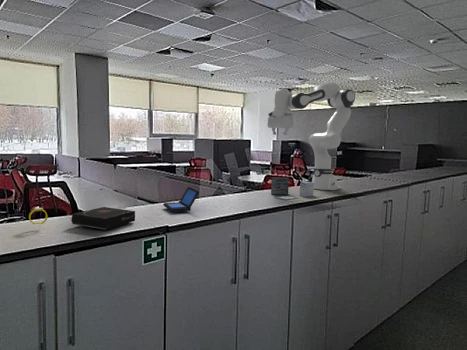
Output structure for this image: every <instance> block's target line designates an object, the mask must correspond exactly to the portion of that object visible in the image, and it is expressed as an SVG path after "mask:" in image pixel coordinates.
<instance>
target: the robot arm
mask: <svg viewBox="0 0 467 350" xmlns="http://www.w3.org/2000/svg"><path fill="white" fill-rule="evenodd" d="M355 99H356V94H355V92H354V91H353V90H352V89H348V88H347V89H342V90H340V88H339V85H338V83H336V82H332V81H331V82H324V83H321V84H319V85H315V87H313V88H312V91H310V92H309V93H308V92H307V93H305V92H299V93H292V92H290V91H289V90H288V88H279V89H276V91H275V94H274V108H273V111H270V112H269V113H268V118H267V128H268V129H271V131H272V135H273V136H277V131H276V129H284V132H283V136H287V135H288V131H289V129H293V127H294V115H293V114H292V113H290V112H289V111H288V110H290V111H291V110H302V109H303V110H304V109H305V108H307V107H308V105H310V104H312V103H314V102H322V101H327V104H328V106H329V107H330V108H332V109H336V110H335V111H334V113H333V114H332V116H330V119H329V120H328V121H327V123H326V128H327V129H326V131H325V132H315V133H313V134H311V135H310V136H309V138H308V143H309V145H310V147H311V148H312V150H313V153H314V168H313V176H312V179H311V182H312V183H314V188H313V190H322V191H326V190H327V191H328V190H329V191H335V190H339V189H342V187H341V186H339V184H338V183H339V181H338V179H337V178H336V177H335V176H334V175H333V173H334V172H335V168H334V169H332V156H331V155H330V154H329V152H328V150H334V149H337V148H338V147H340V144H341V137H340V134H341V132H342V130H343V129H344V127H346V124H347V123H348V121H349V120H350V117H351V115H352V110H351V108H352V106H353V105H354V102H355V101H356V100H355ZM288 112H289V113H288Z"/></svg>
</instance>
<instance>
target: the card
mask: <svg viewBox="0 0 467 350" xmlns="http://www.w3.org/2000/svg"><path fill="white" fill-rule="evenodd" d="M274 199H277V200H282V201H288V200H289V201H290V200H296V199H299V197H298V196H292V195H282V196H277V197H276V196H275V198H274Z"/></svg>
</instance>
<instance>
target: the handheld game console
mask: <svg viewBox="0 0 467 350" xmlns="http://www.w3.org/2000/svg"><path fill="white" fill-rule="evenodd" d="M199 193H200V192H199V191H198V190H197V189H195V188H192V187H190V186H188V187H187V189H186V190H185V192H184V194H183V195H182V197H181V199H180V200H179V201H178V202H177V201H175V202H164V203H163V204H162V205H163V206H164V207H165V208H166V209H168V211H170V212H172V213H174V212H177V213H178V212H189V211H190V212H191V208H192V206H193V204H194V202H195V201H196V199H197V197H198V196H199Z"/></svg>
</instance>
